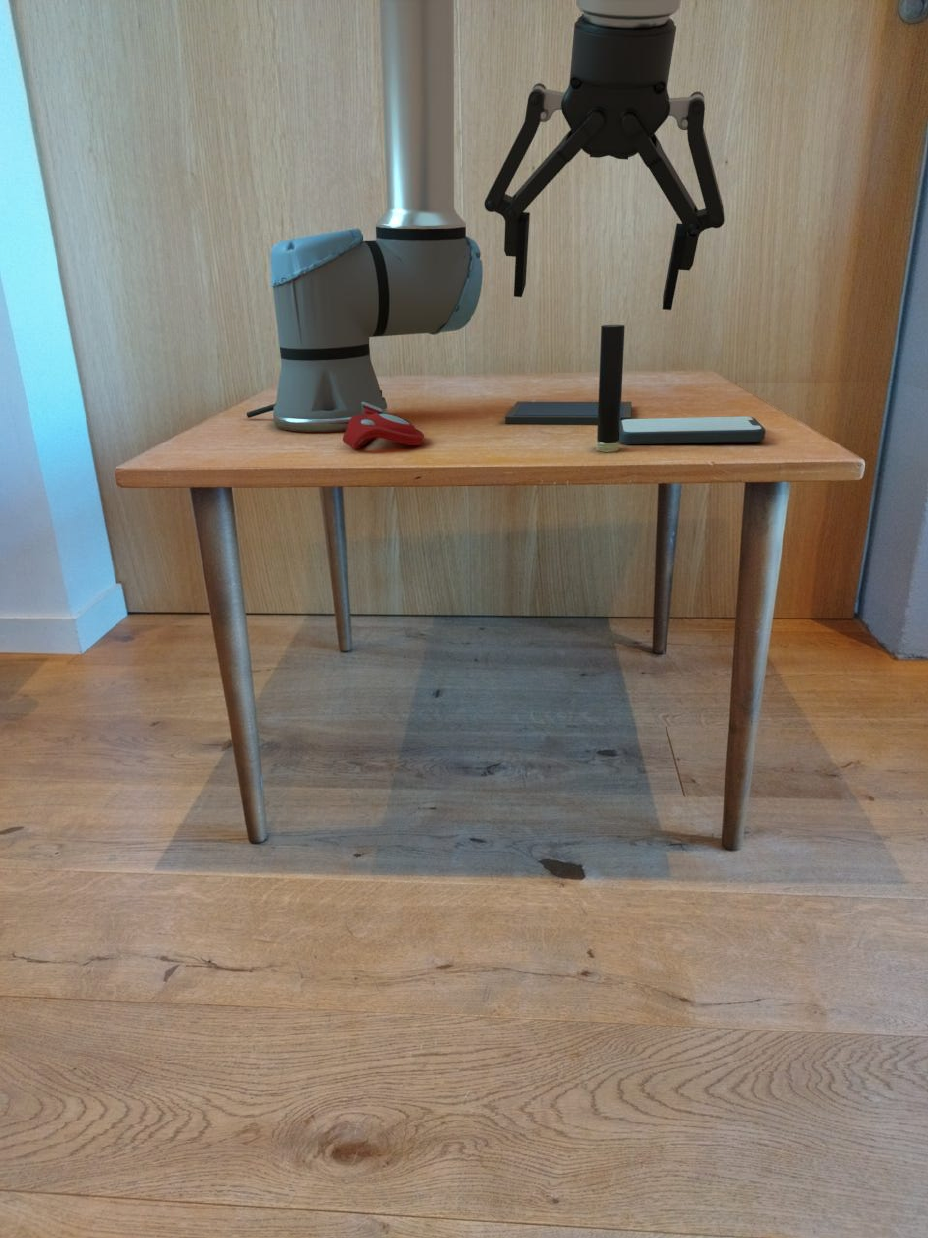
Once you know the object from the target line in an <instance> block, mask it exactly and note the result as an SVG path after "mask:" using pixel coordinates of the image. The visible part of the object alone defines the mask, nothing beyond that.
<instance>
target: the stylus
mask: <svg viewBox="0 0 928 1238" xmlns="http://www.w3.org/2000/svg"><path fill="white" fill-rule="evenodd" d="M600 327H601V328H600V349H599V350H600V353H599V355H600V356H599V379H598V380H599V381H598V402H599V404H598V424H597V431H596V432H597V433H596V434H597V435H596V450H597V452H602V453H613V452H617V451H619V449H620V441H619V434H620V413H621V402H622V393H623V392H622V391H623V390H622V389H623V371H624V370H623V369H624V347H625V329H626V328H625V327H626V326H625V325H624V324H603V325H601V326H600Z"/></svg>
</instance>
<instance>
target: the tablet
mask: <svg viewBox="0 0 928 1238" xmlns="http://www.w3.org/2000/svg"><path fill="white" fill-rule="evenodd" d="M598 404H599V401H544V400H543V401H541V400H540V401H538V400H537V401H536V400H535V401H528V400H527V401H525V400H524V401H520V400H519V401H518V400H517V401H516V402H515V403H514V405H513V406H512V408H511V409H510V410H509V411H508V412H507V414H506V415H505V417H504V424H506V425H598ZM625 419H632V401H621V413H620V420H625Z"/></svg>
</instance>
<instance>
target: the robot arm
mask: <svg viewBox="0 0 928 1238" xmlns="http://www.w3.org/2000/svg"><path fill="white" fill-rule="evenodd" d="M378 3H379V6H378V7H379V28H380V31H379V32H380V57H381V58H380V59H381V87H382V107H383V108H382V111H383V114H382V115H383V136H384V138H383V139H384V140H383V141H384V162H385V163H384V164H385V165H384V166H385V192H386V194H385V195H386V209H385V211H384V213H383V214H382V215H381V216H380V218H378V220H377V221H376V222H375V239H374V240H373V239H372V240H364V234H362V231H361V229H360V228H350V229H343V230H338V231H333V232H325V233H320V234H314V235H309V236H303V237H297V238H291V239H286V240H285V239H284V240H280V241H278V242H276V243H275V244H274V245H273V247H272V248H271V249H270V250H271V251H270V254H269V258H270V259H269V261H270V287H272V292H273V294H272V295H273V302H274V311H275V319H276V326H277V336H278V345H279V354H280V362H281V363H280V364H281V365H280V366H281V367H280V371H279V372H280V373H279V379H278V384H277V390H276V391H277V392H276V401H275V403H273V404H270V405H267V406H263V407H260V408H257V409H254V410H251V411H248V412H246V417H247V418H248V419H251V418H253V417H256V416H260V415H262V414H265V413H269V412H271V411H272V415H273V423H274V424H273V425H274V427H276V428H277V429H280V430H284V431H285V430H286V431H292V432H299V433H300V432H303V433H327V432H343V431H346V430H347V426H348V423H349V420H350V418H351V417H353V416H355V415H359V414H363V412H362V404H361V403H362V402H366V403H368V404H370V405H373V406H375V407H378V408H380V409H383V411H384V413H386V414H389V408H388V403H387V401H386V398H385V397H384V396H383V389H381V387H380V385H379V381H378V379H377V375H376V372H375V370H374V367H373V364H372V358H371V348H370V338H375V337H376V338H377V337H393V336H405V335H418V334H429V335H433V336H434V335H435V336H436V335H438V334H440V333H447V332H455V331H459V330H461V329H463V328H465V326H466V325H468V324H469V322H470V321H471V319H472V317H473V316H474V314H475V312H476V311H477V308H478V305H479V301H480V298H481V292H482V287H483V276H484V275H483V274H484V270H483V269H484V268H483V261H482V259H481V255H482V253H481V250H480V247H479V245H478V243H477V242H476V241H475V240H474V239H472V238H471V237H470V236H467V223H466V222H465V220H464V219H463V218H462V217H461V216H460V215H459V214H458V213H457V211H456V209H455V1H454V0H379V1H378ZM575 6H576V7H577V8H578V9H579V11H580V12H581V13H582V14H581V15H580V16H578V18H577V20H576V21H575V22H574V25H573V34H572V36H573V37H572V48H571V58H570V60H571V61H570V71H569V81H568V86H567V88H566V90H565V92H563V91H559V90H553V89H547V87H546V85H545V84H544V83H542V82H538V83H536V84H534V85H533V87H532V89H531V91H530V92H529V95H528V98H527V103H526V109H525V117H524V122H523V124H522V126H521V127H520V130H519V131H518V134H517V136H516V138H515V140H514V142H513V143H512V145H511V147H510V150H509V152H508V153H507V156H506V158H505V160H504V162H503V164H502V166H501V167H500V170H499V172H498V174H497V175H496V177H495V180H494V181H493V184H492V185H491V187H490V189H489V192H488V194H487V195H486V198H485V200H484V203H483V204H484V208H485V210H486V211H487V212H490V213H497V214H499V215H501V216H502V217H503V220H504V239H503V252H504V255H505V256H506V257H511V258H515V261H514V262H515V263H514V280H513V281H514V282H513V283H514V284H513V297H516V298H522V297H523V295H524V291H525V288H526V284H527V269H528V254H529V253H528V251H529V234H530V217H531V212H529V211H526V210H527V208H529V206H530V205H531V204H532V203H533V202H534V201H535V199H537V197H538V196H539V195H540V194H541V193H542V192H543V191H544V190H545V188H547V186H548V185H549V184H550V183H551V182H552V181H553V180H554V178H555V177H557V175H558V174H559V173H560V172H561V171H562V170H563V169H564V167H565V166H566V165H567V164H569V163H570V162H571V161H572V160H573V159H574V158H575V157H576V155H578V153H579V152H580V151H581V150H582V151H583V153H585V154H587V155H589V158H597V159H600V158H605V157H612V158H614V159H617V160H629V158H632V157H634V156H636V155H637V154H638V155H639V157H640V158H641V160H642V162H643V163H644V165H645V167H647V168H648V169H649V171H650V173H651V174H652V176H653V178H654V180H655V181H656V183H657V185H658V186H659V188H660V189H661V191H662V192H663V194H664V196H665V198H666V199H667V201H668V202H669V204H670V206H671V208H672V209H673V211H674V212H675V214H676V216H677V217H678V220H679V221H680V222H681V223H680V222H679V223H678V222H677V223H676V224H675V230H674V236H673V241H672V246H671V253H670V257H669V261H668V268H667V272H666V273H667V274H666V280H665V284H664V290H663V294H662V295H663V296H662V310H664V311H672V308H673V304H674V302H673V301H674V298H675V297H674V296H675V292H676V286H677V282H678V276H679V271H691V269H692V267H693V265H694V263H695V256H696V253H697V252H696V251H697V248H698V241H699V237H700V236H701V233H702V232H704V231H705V230H709V229H712V228H713V229H719V228H722V226H723V225H724V224H725V221H726V218H725V208H724V203H723V200H722V196H721V192H720V188H719V182H718V179H717V176H716V172H715V167H714V165H713V160H712V156H711V152H710V148H709V144H708V140H707V137H706V131H705V128H704V123H705V110H706V105H705V104H706V103H705V95H704V93H703V92H702V91H698V90H697V91H694V92H693V93H691V94H690V96H683V97H670V95H669V92H668V82H669V76H670V71H671V65H672V57H673V50H674V45H675V38H676V33H677V26H676V25H675V22H674V20H673V19H672V18H670V16H672V15H674V14H676V12H678V11H679V9H680V6H681V0H576V1H575ZM556 111H561V113H562V115H563V118H564V119H565V121H566V123H567V125H568V127H569V129H570V130H569V131H568V132H567V133H566V134H565V135H564V137H562V139H561V141H560V142H559V143H558V144H557V145H556V147H555V148H554V149H553V150H552V151H551V152H550V153H549V155H548V156H547V157H546V158H545V159H544V160H543V161H542V163H541V164H540V165H539V166H538V167H537V168H536V169H535V170H534V172H533V173H532V174H531V175H530V176H529V177H528V178H527V180H526V181H525V182H523V184H522V185H521V187H520V188H518V190H517V191H516V192H515V193H514V194H513V195H511V196H510V195H508V194H507V193H506V192H507V191H508V188H509V187H510V185H511V183H512V181H513V179H514V177H515V175H516V174H517V171H518V169H519V167H520V166H521V163H522V161H523V159H524V158H525V156H526V154H527V152H528V150H529V147H530V146H531V144H532V142H533V140H534V139H535V136H536V134H537V132H538V130H539V127H540V125H541V122H542V123H546V122H548V121H550V120H551V118H552V115H553V114H554V113H555V112H556ZM668 117H673V118H674V119H675V120H676V125H677V127H678V129H679V130H681V131H686V134H687V135H686V136H687V141H688V142H687V143H688V147H689V151H690V155H691V158H692V163H693V166H694V170H695V173H696V177H697V180H698V181H697V182H698V185H699V189H700V192H701V196H702V199H703V200H702V201H703V203H704V208H702V209H701V208H700V209H699V208H698V207H697V205H696V203H695V202H694V200H693V198H692V196H691V195H690V193H689V192H688V190H687V188H686V187H685V185H684V183H683V181H682V180H681V178H680V175H679V173H678V172H677V171H676V169H675V167H674V165H673V164H672V162H671V161H670V159H669V158H668V155H667V154H666V152H665V150H664V148H663V146H662V144H661V142H660V140H659V138H658V136H657V134H656V133H657V131H658V130H659V129H660V128H661V127H662V126H663V124H664V123H665V122H666V120H667V119H668ZM365 407H366V406H365Z"/></svg>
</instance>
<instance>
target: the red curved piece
mask: <svg viewBox="0 0 928 1238" xmlns="http://www.w3.org/2000/svg"><path fill="white" fill-rule="evenodd" d="M361 404H362V412H363V414H359V415H355V416H353V417H351V418H350V420H349V423H348V426H347V430H345V432H344V434H343V437H342V442H343V443H344V444H346V445H347V446H349V447H351V448H353V449H355V450H360V448H362V447H363V446H365V444H367V443H368V442H370V441H371V440H372V439H373V438H379V439H383V440H387V441H390V442H395V443H398V444H399V443H400V444H404V445H409V446H420V445H422V444H424V439H425V434H424V433H423V432H422V431H421V430H420V429H418V428H416V427H415V426H414V424H413V423H411V422H410V421H408V420H407V419H405V418H402V417H400V416H396V415H393V414H390V413H388V414H386V413H384V411H383V409H380V408H378V407H375V406H373V405H370V404H368V403H366V402H362V403H361ZM365 406H366V407H365Z"/></svg>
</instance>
